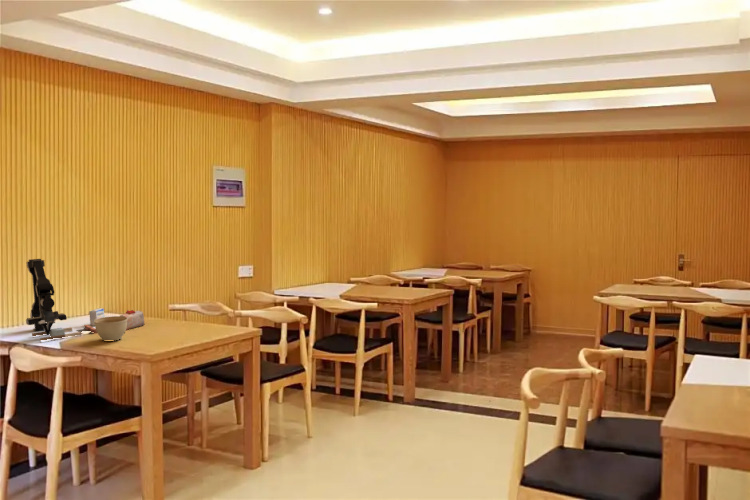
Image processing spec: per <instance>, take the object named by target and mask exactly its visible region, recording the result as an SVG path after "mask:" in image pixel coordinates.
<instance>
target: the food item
mask: <svg viewBox="0 0 750 500" xmlns="http://www.w3.org/2000/svg"><path fill="white" fill-rule="evenodd" d="M119 316H121V317H127V318H128V320H127V328H126V331H128V330H129V331H130V330H131V329H135V328H140V327H143V326H145V316H144V312H143V311H140V310H133V309H132V310H128V309H127V310H126V311H125V313H124V314H123V313H122V314H120V315H119Z"/></svg>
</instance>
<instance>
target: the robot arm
mask: <svg viewBox="0 0 750 500" xmlns="http://www.w3.org/2000/svg"><path fill="white" fill-rule="evenodd" d="M45 266H46V265H45V259H41V258H33V259H32V258H31V259H28V261H26V268H27V270H28V272H29V273H30V275H31V279H32V288H33V289H32V290H33V303H32V305H31V309H30V315H29V316H30V317H26V319H25V323H26V324H27V325H28V326H33V325H34V327H33V328H32V330H33V331H35V332H42V331H45V332H46V334H47V335H46V336H50V335H49V333H50V329H52V326H53V325H54V324H55V323H56V320H59V321H66V320H68V318H67V315H66V314H65V313H59V311H58V310H56V311H53V307H54V306H55V301H54V299H53V298H52V296H55V288H54V285H53V283H51V281H50V279H48V278H47V277H46V272H45V269H44V267H45Z"/></svg>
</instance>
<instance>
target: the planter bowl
mask: <svg viewBox="0 0 750 500" xmlns="http://www.w3.org/2000/svg"><path fill="white" fill-rule="evenodd" d="M127 320H128V318H127V317H121V316H120V315H119V316H116V315H115V316H104V318H99V319H96V320H94V323H95V326H94V328H95V329H96V331H97V333H96V334H98V336H99V337H100V338H101V341H102V340H118V341H120V340H119V339H121V340H123V337H124V334H125V333H126V331H127V330H126V328H127Z"/></svg>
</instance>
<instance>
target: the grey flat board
mask: <svg viewBox="0 0 750 500" xmlns="http://www.w3.org/2000/svg"><path fill="white" fill-rule="evenodd" d="M83 327H84V328H82V329H76V330H75V331H76V332H73V327H72V326H70V327H64V328H63V327H62V328H63V329H64V331H65V334H63V335H57V336H51V337H50V336H44V337H41V338H39V341H40V340H47V339H53V338H62V337H68V336H75V335H81V336H82V333H81V332H82V331H91V332H94V333H96V334H98V333H97V331H96V328H95V327H94V326H90V325H89V324H84V326H83ZM68 332H69V333H68ZM70 332H71V333H70ZM94 333H93V334H94ZM43 334H46V332H45V330H42V331H36V332H32V333H31V336H36V335H43ZM49 334H50V333H49Z"/></svg>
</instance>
